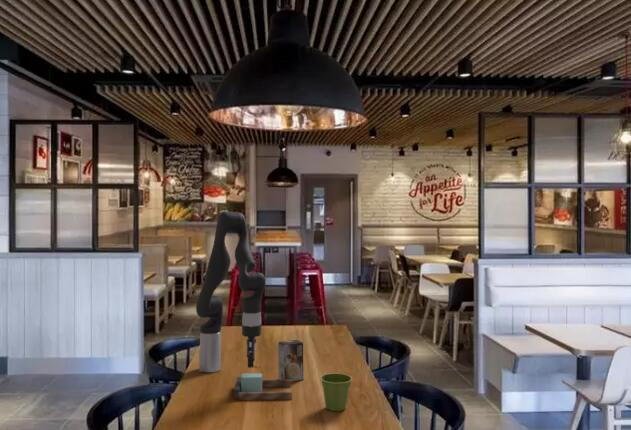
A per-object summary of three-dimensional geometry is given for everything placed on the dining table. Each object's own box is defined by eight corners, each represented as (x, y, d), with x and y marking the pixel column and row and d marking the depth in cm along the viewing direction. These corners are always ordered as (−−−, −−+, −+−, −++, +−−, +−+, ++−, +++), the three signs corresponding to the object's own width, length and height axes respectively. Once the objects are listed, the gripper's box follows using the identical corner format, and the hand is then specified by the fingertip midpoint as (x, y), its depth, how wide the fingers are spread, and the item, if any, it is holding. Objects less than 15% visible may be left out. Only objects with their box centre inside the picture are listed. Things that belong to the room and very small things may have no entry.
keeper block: (241, 395, 223) (241, 377, 223) (242, 391, 228) (242, 373, 228) (261, 395, 223) (261, 377, 223) (262, 390, 228) (262, 373, 228)
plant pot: (328, 416, 201) (328, 384, 200) (314, 405, 211) (314, 375, 211) (358, 411, 205) (358, 380, 205) (343, 401, 216) (343, 371, 216)
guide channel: (234, 400, 217) (234, 389, 217) (237, 386, 233) (237, 376, 233) (291, 399, 218) (291, 388, 218) (291, 385, 235) (291, 376, 235)
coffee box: (297, 376, 248) (297, 339, 248) (303, 380, 243) (303, 342, 242) (277, 378, 244) (278, 341, 244) (284, 383, 238) (284, 344, 238)
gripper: (243, 319, 232) (242, 359, 232) (240, 327, 218) (240, 369, 218) (261, 319, 232) (261, 359, 233) (260, 327, 218) (259, 369, 218)
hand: (251, 364), depth 225 cm, fingers open, 8 cm apart
